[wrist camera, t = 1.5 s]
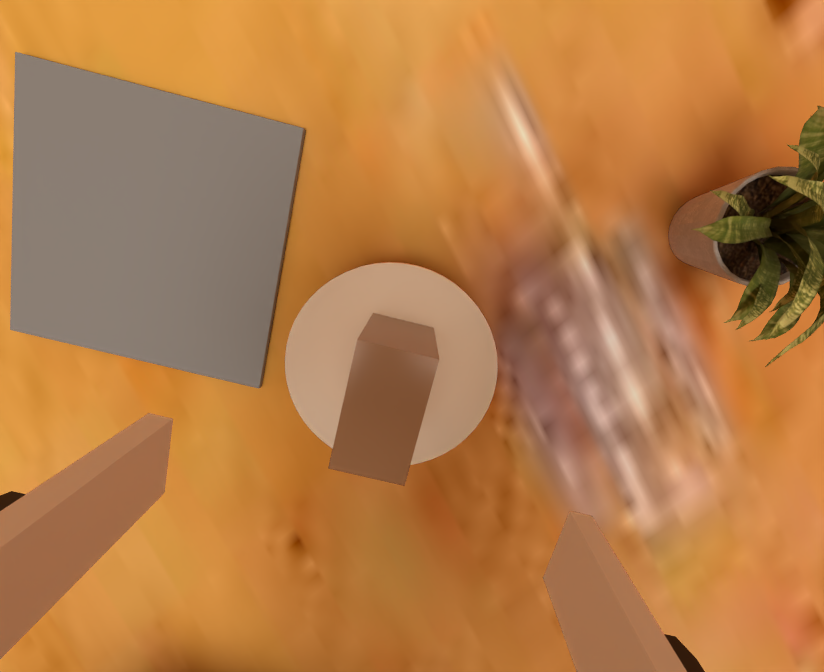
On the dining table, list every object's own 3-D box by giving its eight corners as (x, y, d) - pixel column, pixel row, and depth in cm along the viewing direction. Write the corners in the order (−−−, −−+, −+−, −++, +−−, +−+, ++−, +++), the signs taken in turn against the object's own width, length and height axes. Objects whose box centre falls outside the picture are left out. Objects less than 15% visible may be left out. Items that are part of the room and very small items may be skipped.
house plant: (574, 158, 30) (755, 66, 14) (769, 79, 28) (1222, -126, 12) (625, 337, 33) (821, 432, 17) (803, 273, 31) (1201, 310, 15)
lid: (463, 476, 30) (479, 562, 22) (274, 432, 29) (221, 505, 22) (520, 291, 27) (564, 314, 19) (311, 238, 26) (264, 238, 18)
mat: (261, 385, 34) (258, 388, 33) (17, 328, 33) (10, 329, 33) (305, 130, 29) (303, 128, 29) (23, 55, 29) (15, 51, 28)
